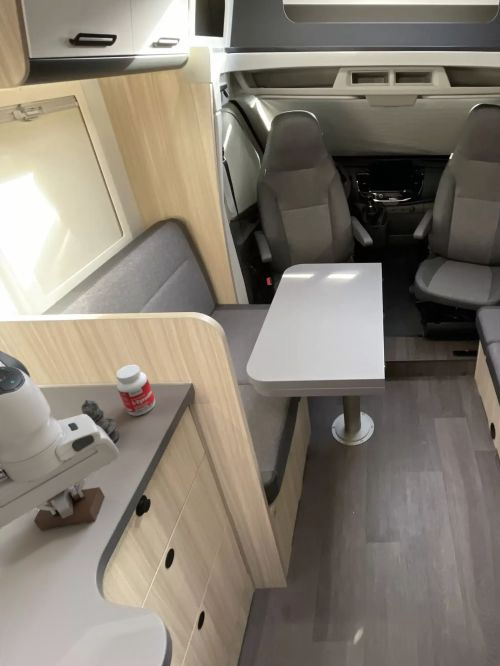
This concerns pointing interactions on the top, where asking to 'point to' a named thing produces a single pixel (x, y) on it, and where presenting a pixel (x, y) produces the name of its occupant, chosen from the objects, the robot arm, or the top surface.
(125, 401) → the pill bottle
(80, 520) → the brown block
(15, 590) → the top surface
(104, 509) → the top surface
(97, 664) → the top surface
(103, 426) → the dark chess piece
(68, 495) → the grey rectangular block
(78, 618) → the top surface
